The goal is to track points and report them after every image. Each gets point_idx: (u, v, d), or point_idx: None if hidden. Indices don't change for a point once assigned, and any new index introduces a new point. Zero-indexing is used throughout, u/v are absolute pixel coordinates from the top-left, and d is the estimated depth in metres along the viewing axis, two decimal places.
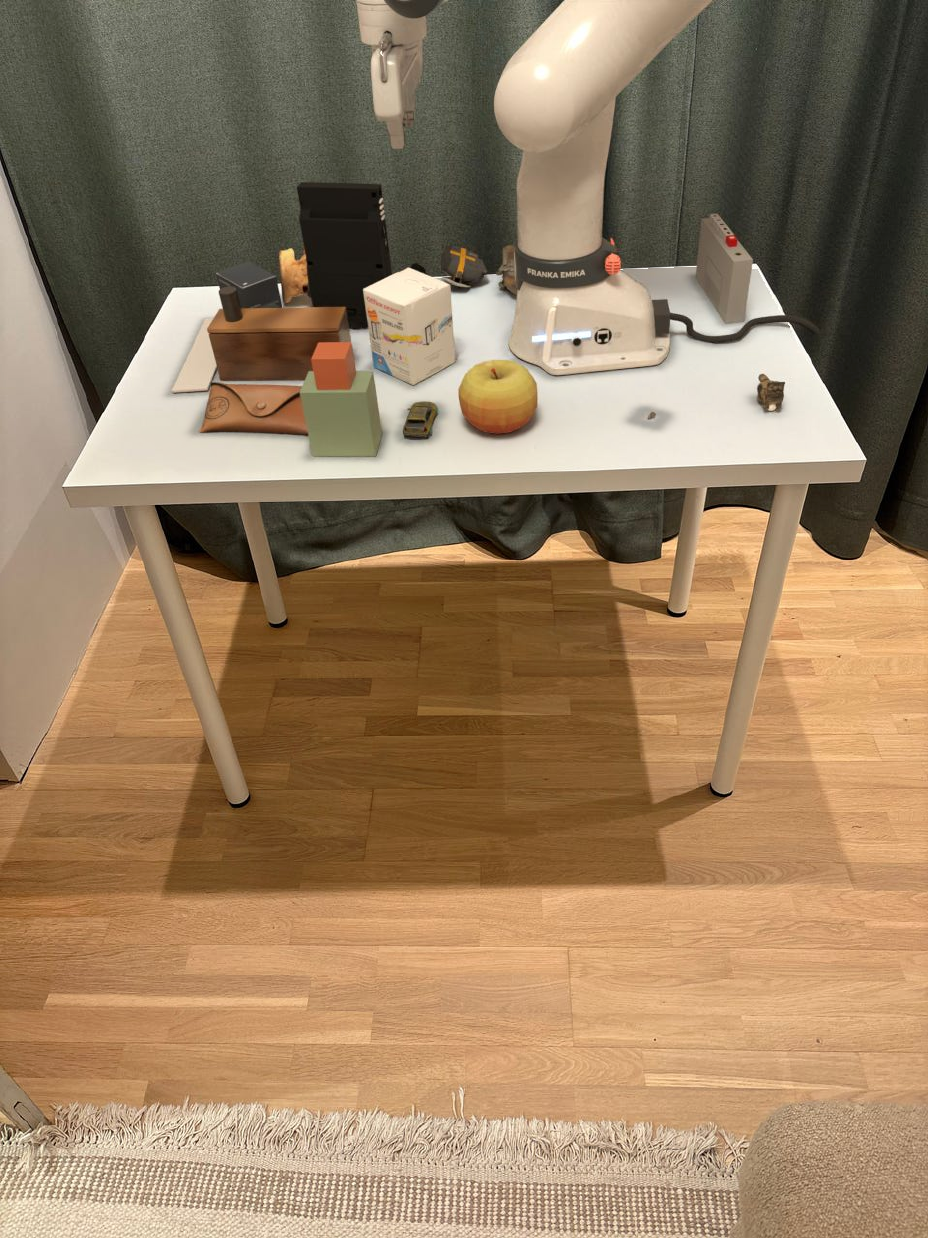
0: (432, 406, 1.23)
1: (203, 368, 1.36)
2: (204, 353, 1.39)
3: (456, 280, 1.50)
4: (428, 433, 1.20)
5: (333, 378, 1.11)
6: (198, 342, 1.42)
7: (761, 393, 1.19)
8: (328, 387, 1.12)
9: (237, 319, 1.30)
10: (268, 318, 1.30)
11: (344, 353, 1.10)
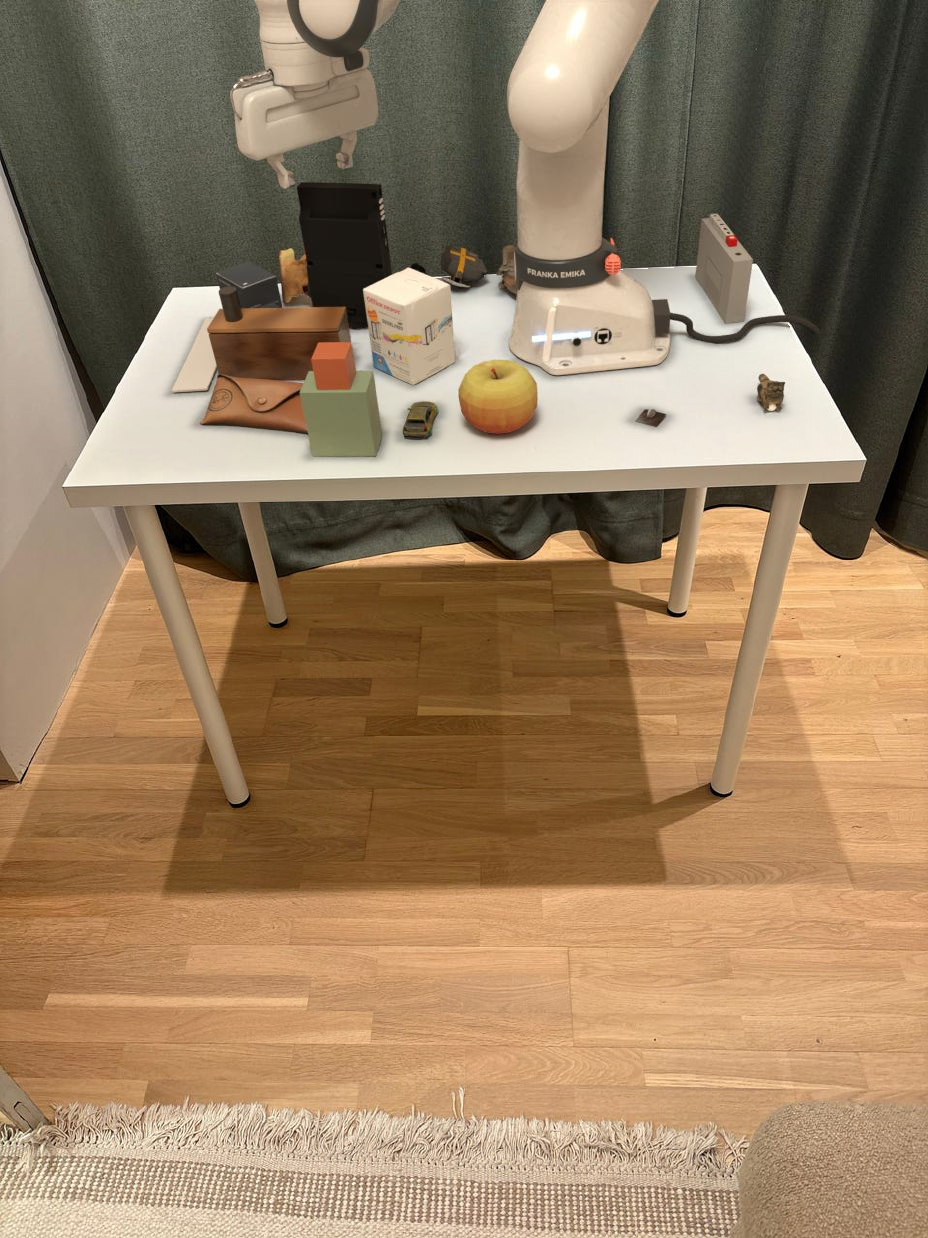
0: (432, 406, 1.23)
1: (203, 368, 1.36)
2: (204, 353, 1.39)
3: (456, 280, 1.50)
4: (428, 433, 1.20)
5: (333, 378, 1.11)
6: (198, 342, 1.42)
7: (761, 393, 1.19)
8: (328, 387, 1.12)
9: (237, 319, 1.30)
10: (268, 318, 1.30)
11: (344, 353, 1.10)
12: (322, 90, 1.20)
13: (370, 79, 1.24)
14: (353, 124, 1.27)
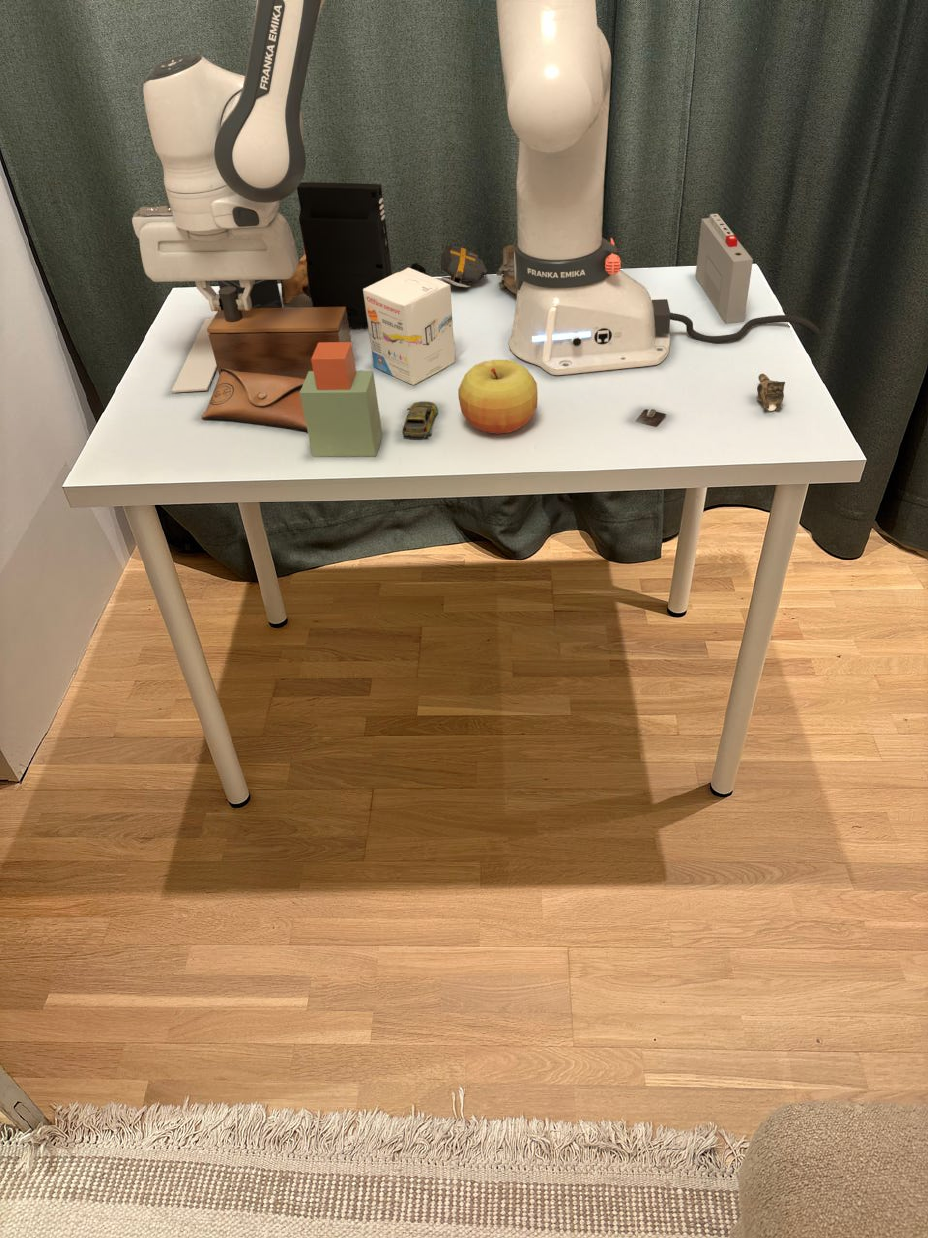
0: (432, 406, 1.23)
1: (203, 368, 1.36)
2: (204, 353, 1.39)
3: (456, 280, 1.50)
4: (428, 433, 1.20)
5: (333, 378, 1.11)
6: (198, 342, 1.42)
7: (761, 393, 1.19)
8: (328, 387, 1.12)
9: (237, 319, 1.30)
10: (268, 318, 1.30)
11: (344, 353, 1.10)
12: (211, 237, 1.20)
13: (274, 238, 1.20)
14: (260, 273, 1.24)
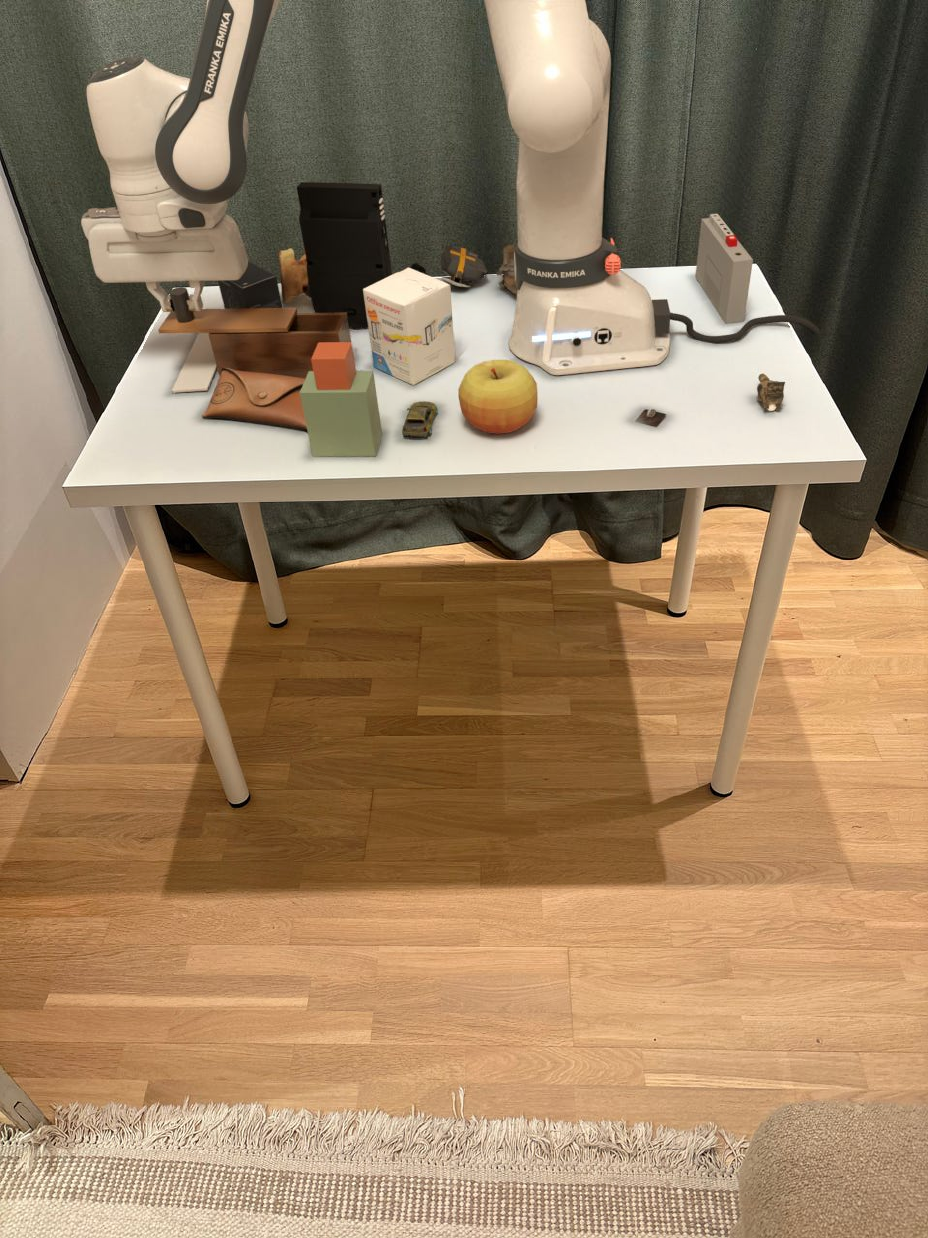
0: (432, 406, 1.23)
1: (203, 368, 1.36)
2: (204, 353, 1.39)
3: (456, 280, 1.50)
4: (427, 433, 1.20)
5: (333, 378, 1.11)
6: (198, 343, 1.42)
7: (761, 393, 1.19)
8: (328, 387, 1.12)
9: (188, 320, 1.30)
10: (219, 319, 1.31)
11: (344, 353, 1.10)
12: (159, 239, 1.21)
13: (221, 239, 1.21)
14: (209, 274, 1.25)
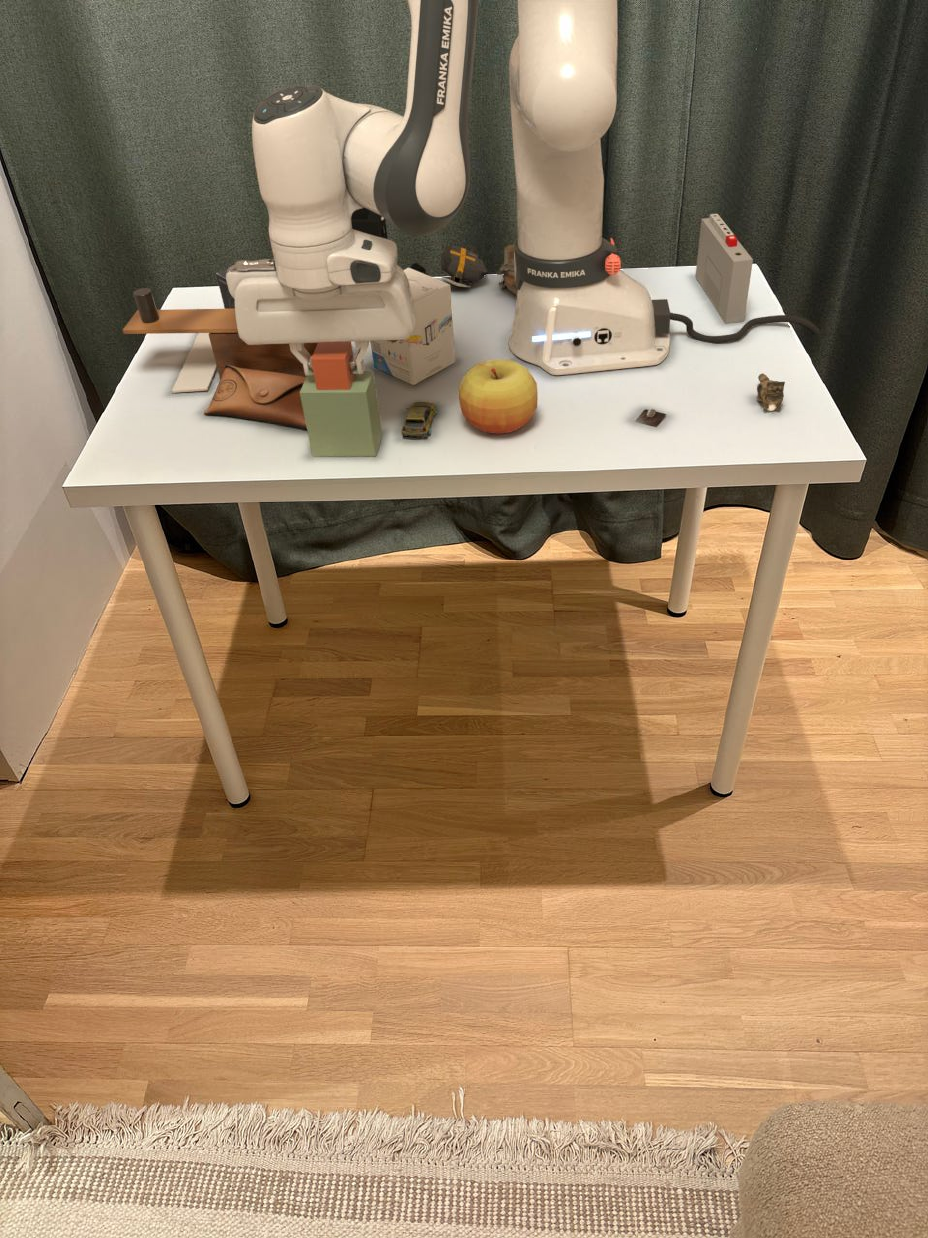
0: (431, 406, 1.23)
1: (203, 368, 1.36)
2: (204, 353, 1.39)
3: (456, 280, 1.50)
4: (427, 433, 1.20)
5: (333, 378, 1.11)
6: (198, 342, 1.42)
7: (761, 393, 1.19)
8: (328, 387, 1.12)
9: (153, 320, 1.31)
10: (184, 319, 1.31)
11: (344, 353, 1.10)
12: (322, 295, 1.03)
13: (396, 294, 1.03)
14: (374, 334, 1.07)
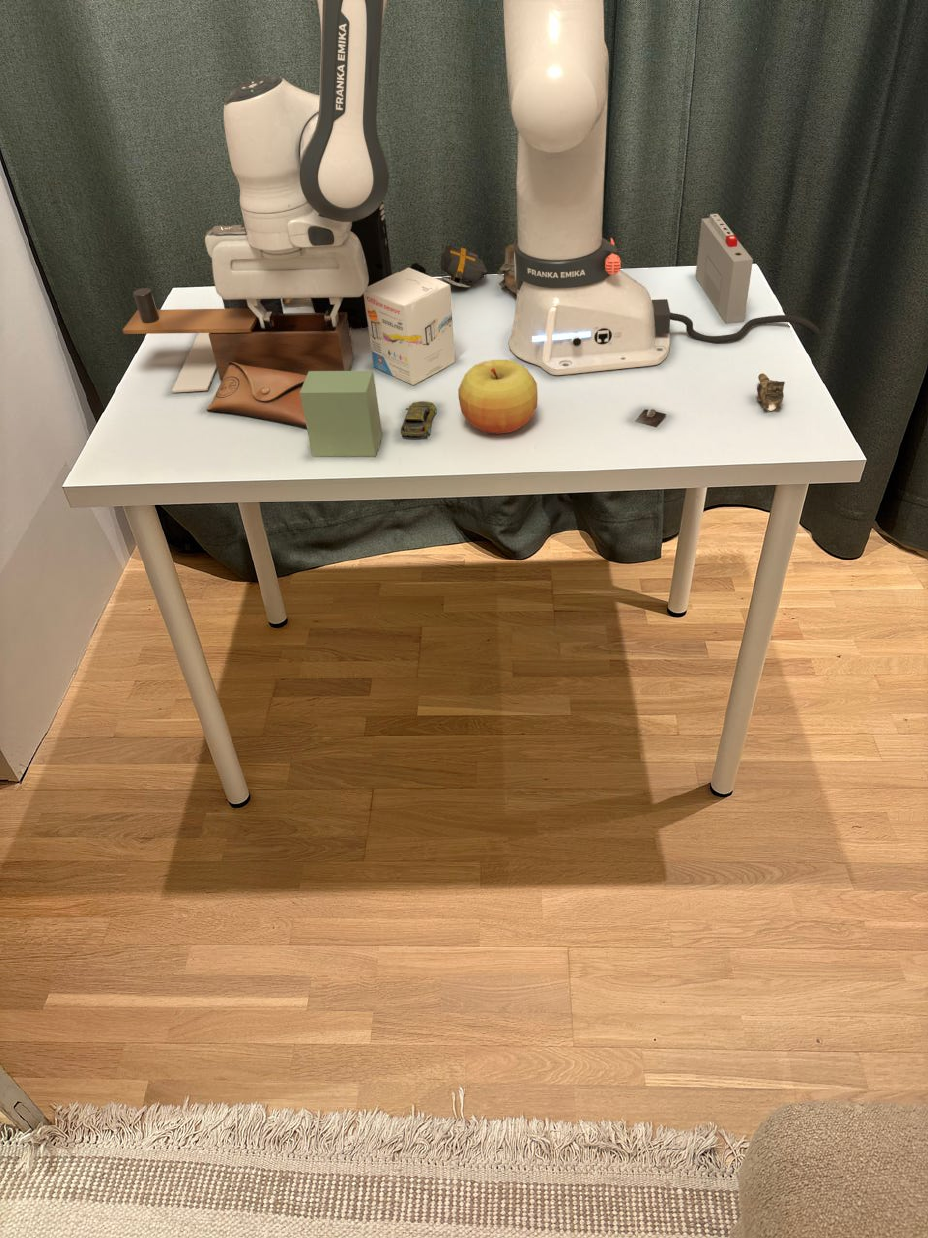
0: (430, 406, 1.23)
1: (203, 368, 1.36)
2: (204, 353, 1.39)
3: (456, 280, 1.50)
4: (426, 433, 1.20)
5: None
6: (198, 342, 1.42)
7: (761, 393, 1.19)
8: None
9: (153, 320, 1.31)
10: (184, 319, 1.31)
11: None
12: (285, 256, 1.21)
13: (348, 256, 1.20)
14: (331, 291, 1.25)
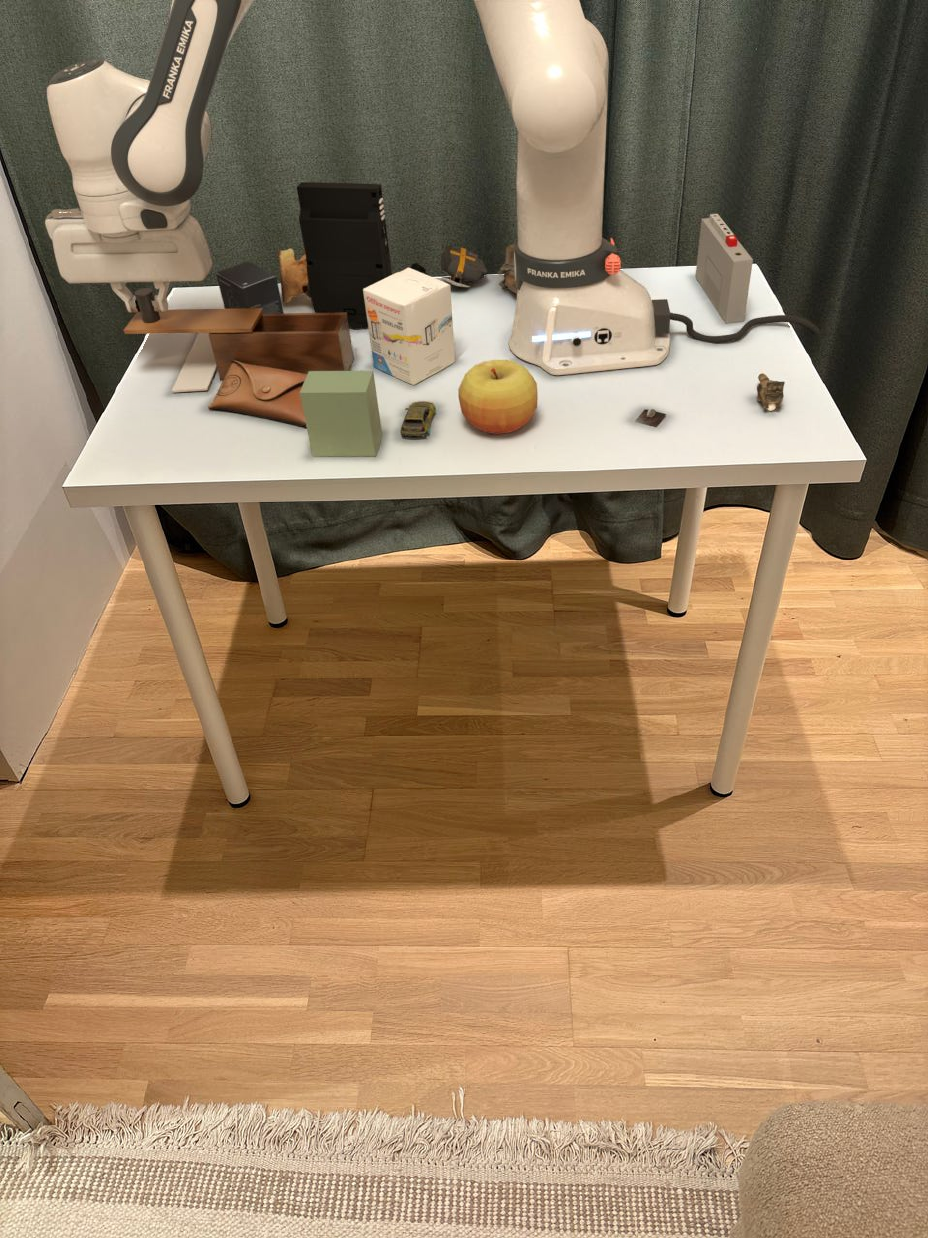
0: (430, 406, 1.23)
1: (203, 368, 1.36)
2: (204, 353, 1.39)
3: (456, 280, 1.50)
4: (426, 433, 1.20)
5: None
6: (198, 342, 1.42)
7: (761, 393, 1.19)
8: None
9: (154, 320, 1.31)
10: (185, 319, 1.31)
11: None
12: (122, 240, 1.21)
13: (184, 240, 1.21)
14: (173, 275, 1.25)
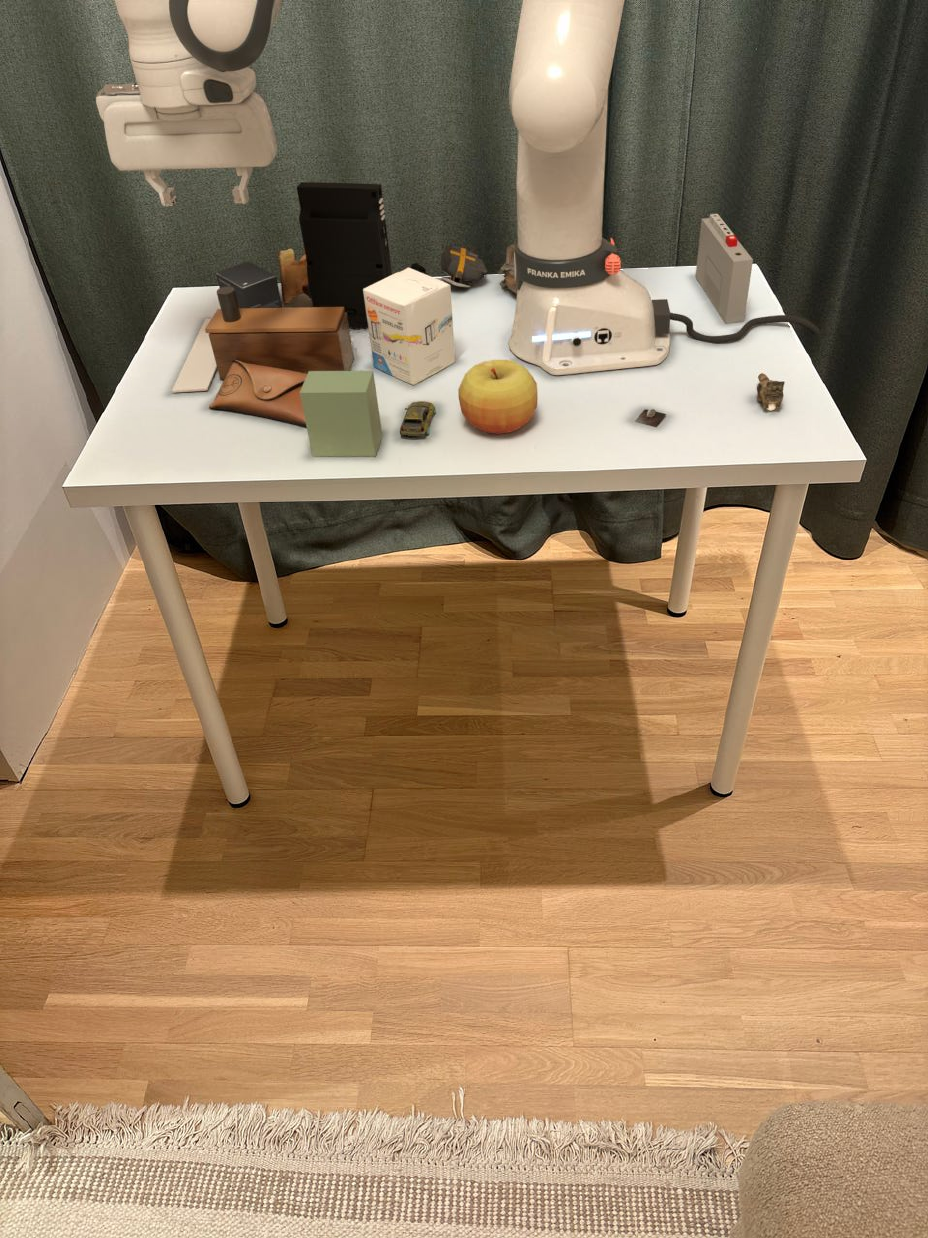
0: (429, 406, 1.23)
1: (203, 368, 1.36)
2: (204, 353, 1.39)
3: (456, 280, 1.50)
4: (425, 433, 1.20)
5: None
6: (198, 342, 1.42)
7: (761, 393, 1.19)
8: None
9: (235, 319, 1.30)
10: (266, 318, 1.30)
11: None
12: (181, 116, 1.10)
13: (250, 116, 1.10)
14: (235, 160, 1.14)
